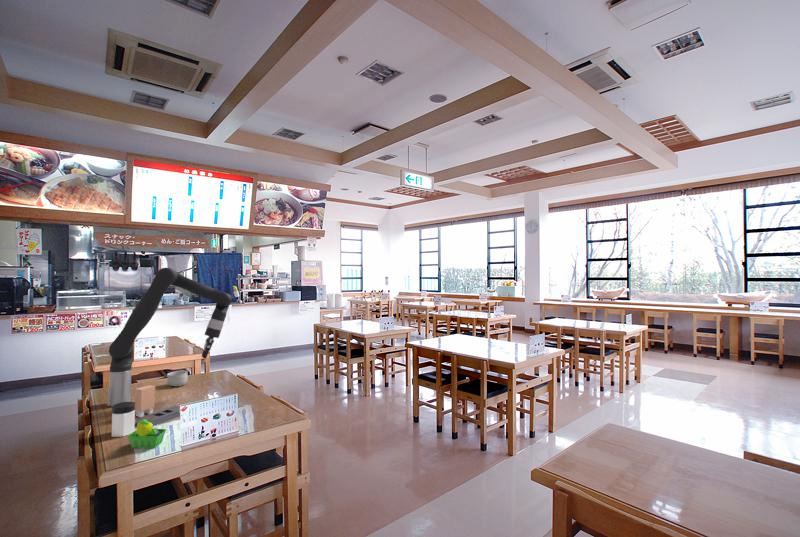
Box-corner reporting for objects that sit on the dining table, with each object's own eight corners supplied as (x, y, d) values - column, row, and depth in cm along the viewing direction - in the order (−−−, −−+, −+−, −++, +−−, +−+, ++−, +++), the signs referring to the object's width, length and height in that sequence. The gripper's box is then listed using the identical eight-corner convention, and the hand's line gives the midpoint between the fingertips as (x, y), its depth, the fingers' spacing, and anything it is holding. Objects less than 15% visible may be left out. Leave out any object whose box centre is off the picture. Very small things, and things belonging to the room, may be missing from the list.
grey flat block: (150, 427, 175) (150, 421, 175) (135, 424, 178) (135, 418, 178) (188, 412, 194) (188, 407, 194) (174, 410, 197) (174, 405, 197)
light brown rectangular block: (140, 417, 186) (141, 389, 186) (134, 416, 187) (135, 388, 187) (154, 413, 192) (155, 386, 193) (148, 411, 194) (149, 385, 194)
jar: (139, 429, 173) (140, 401, 173) (128, 436, 165) (129, 407, 165) (117, 429, 172) (118, 401, 172) (105, 437, 164) (106, 408, 164)
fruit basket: (167, 441, 161) (167, 413, 161) (154, 451, 152) (155, 421, 153) (138, 441, 161) (139, 413, 161) (124, 450, 152) (124, 421, 152)
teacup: (180, 388, 233) (181, 374, 233) (162, 388, 233) (163, 374, 233) (193, 382, 247) (194, 369, 247) (176, 381, 247) (176, 368, 247)
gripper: (206, 326, 225) (196, 354, 221) (207, 326, 212) (196, 356, 208) (220, 329, 228) (210, 357, 224) (222, 330, 215) (211, 360, 211)
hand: (203, 357), depth 216 cm, fingers open, 8 cm apart
